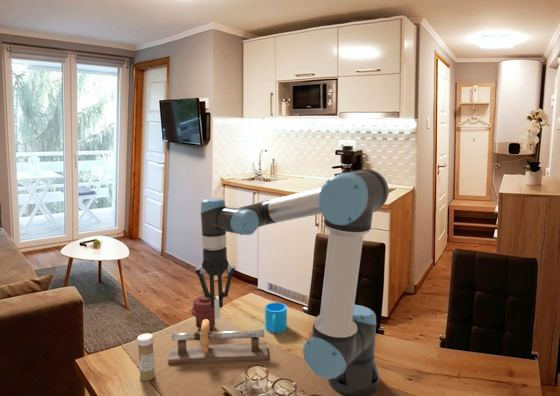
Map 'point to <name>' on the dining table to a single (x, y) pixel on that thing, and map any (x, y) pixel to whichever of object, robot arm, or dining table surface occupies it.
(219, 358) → the stand
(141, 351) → the sprinkles bottle
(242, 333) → the rod
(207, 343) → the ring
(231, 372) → the dining table surface
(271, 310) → the mug
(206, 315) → the mechanical component
